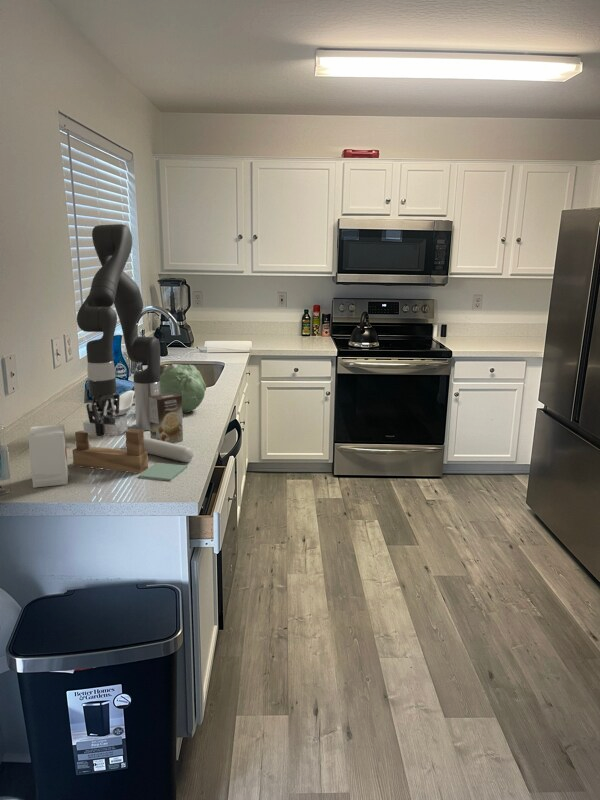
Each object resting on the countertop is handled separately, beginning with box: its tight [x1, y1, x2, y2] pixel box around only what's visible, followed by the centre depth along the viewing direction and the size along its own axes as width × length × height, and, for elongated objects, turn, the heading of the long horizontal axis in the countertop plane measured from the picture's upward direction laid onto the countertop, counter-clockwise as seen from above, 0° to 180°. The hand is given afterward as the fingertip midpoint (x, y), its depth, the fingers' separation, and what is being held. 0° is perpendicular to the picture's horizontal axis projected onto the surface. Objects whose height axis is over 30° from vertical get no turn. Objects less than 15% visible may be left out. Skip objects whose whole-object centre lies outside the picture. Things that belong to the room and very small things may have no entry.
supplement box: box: [27, 424, 69, 488], centre depth 160 cm, size 9×9×15 cm
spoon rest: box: [115, 390, 135, 417], centre depth 235 cm, size 24×12×7 cm, turn 164°
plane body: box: [72, 428, 149, 474], centre depth 171 cm, size 4×22×12 cm, turn 77°
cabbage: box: [160, 363, 207, 414], centre depth 232 cm, size 16×19×20 cm
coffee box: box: [149, 393, 184, 444], centre depth 195 cm, size 9×6×16 cm
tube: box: [125, 436, 194, 463], centre depth 182 cm, size 5×5×25 cm
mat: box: [137, 462, 188, 482], centre depth 169 cm, size 11×10×1 cm
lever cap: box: [82, 415, 129, 436], centre depth 170 cm, size 6×11×5 cm, turn 77°
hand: (106, 432), depth 171 cm, fingers closed on lever cap, 5 cm apart
